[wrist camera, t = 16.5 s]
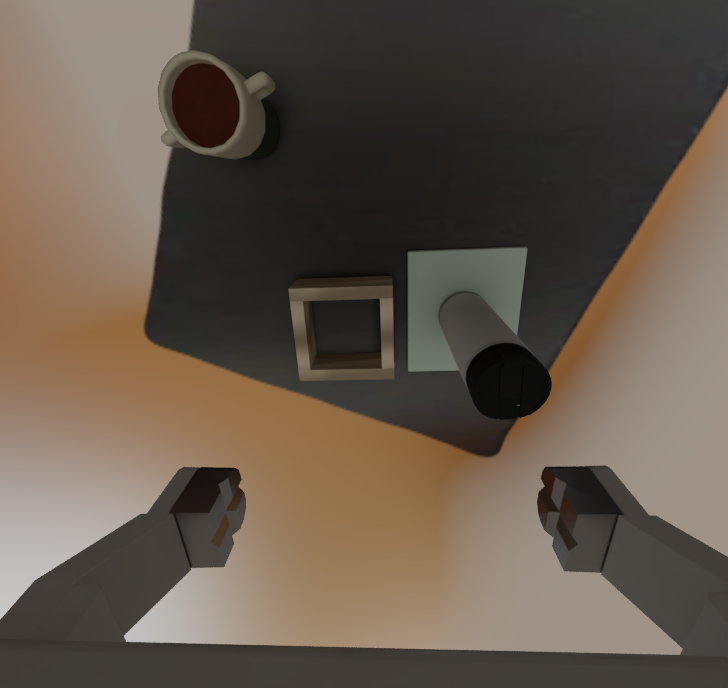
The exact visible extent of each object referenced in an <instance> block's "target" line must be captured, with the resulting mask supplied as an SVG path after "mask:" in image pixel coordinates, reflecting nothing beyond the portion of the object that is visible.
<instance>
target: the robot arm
mask: <svg viewBox="0 0 728 688" xmlns="http://www.w3.org/2000/svg"><path fill="white" fill-rule="evenodd" d="M541 480H542V482H543V484H544V485H545V487H544V488H543V489H541V491H539V493H538V500H537V505H538V514H539V517H540V521H541V523H542V526H543V528H544V530H545V531H546V532H547V533H549V534H550V535H551V536H552V537H554V540H553V545H552V546H553V549H554V551H555V553H556V555H557V557H558V559H559V561H560V563H561V565H562V567H563V570H564V571H574V572H598V573H602V575H603V576H604V577H605V578H606V579H607V580H608V581H609V582H610V583H611V584H612V585H613V586H615V587H616V588H617V589H618V590H619V591H620V592H621V593H622V594H623V595H624V596H626V597H627V598H628V599H629V600H630V601H631V602H632V603H633V604H634V605H636V606H637V607H638V608H639V609H640V610H641V611H642V612H643V613H644V614H645V615H646V616H648V617H649V618H650V619H651V620H652V621H653V622H654V623H655V624H656V625H658V626H659V627H660V628H661V629H662V630H663V631H664V632H665V633H666V634H668V636H670V637H671V638H672V639H673V640H674V641H675V642H676V643H677V644H678V645H680V646H681V647H682V648H683V649H682V652H681V654H680V655H655V654H612V653H611V654H610V653H571V652H569V653H568V652H525V651H523V652H522V651H478V650H476V651H475V650H434V649H394V648H353V647H351V648H350V647H313V646H312V647H311V646H271V645H230V644H229V645H228V644H187V643H144V642H126V640H125V638H124V635H125V634H126V633H127V632H128V631H129V630H130V629H131V628H132V627H133V626H134V625H135V624H136V623H137V622H138V621H139V620H140V619H141V618H142V617H143V616H144V615H145V614H146V613H147V612H148V611H149V610H150V609H151V608H152V607H153V606H154V605H155V604H156V603H158V602H159V601H160V599H162V598H163V597H164V596H165V595H166V594H167V593H168V592H169V591H170V590H171V589H172V588H173V587H174V586H175V585H176V584H177V583H178V582H179V581H180V580H181V579H182V578H183V577H184V576H185V575H186V574H187V573H188V572H189V571H190V570H191V568H204V567H224V566H225V564H226V561H227V559H228V557H229V554H230V552H231V549H232V547H233V545H234V542H233V538H232V535H233V534H234V533H235V532H237V531H238V530H239V529H240V528H241V525H242V523H243V520H244V515H245V509H246V499H245V494H244V492H243V491H242V490H241V489H240V488H239V487H238V486H239V484H240V481H241V476H240V472H239V470H238V469H236V468H212V467H211V468H210V467H201V468H195V467H193V468H192V467H183V468H182V469H179V470H178V471H177V473H176V474H175V475H174V477H173V478H172V480H171V481H170V482H169V484H168V485H167V486H166V488H165V489H164V491H163V492H162V493H161V495H160V496H159V498H158V499H157V500H156V502H155V503H154V504H153V506H152V507H151V509H150V510H149V511H148V513H147V514H140V515H139V516H137V517H135V518H134V519H132V520H130V521H129V522H127V523H126V524H124V525H123V526H121V527H119V528H118V529H116V530H115V531H113V532H112V533H110V534H108V535H107V536H105V537H104V538H102V539H100V540H99V541H97V542H96V543H94V544H92V545H91V546H89V547H87V548H86V549H84V550H83V551H81V552H80V553H78V554H77V555H75V556H73V557H72V558H70V559H68V560H67V561H65V562H64V563H62V564H60V565H59V566H57V567H56V568H54V569H53V570H51V571H49V572H48V573H46V574H44V575H43V576H41V577H40V578H38V579H37V580H35V581H34V582H33V583H32V584H31V586H30V587H29V588H28V589H27V590H26V591H25V592H24V593H23V595H22V596H21V597H20V598H19V599H18V600H17V602H16V603H15V604H14V605H13V606H12V607H11V608H10V610H8V612H7V613H6V614H5V615H4V616H3V617H2V618H1V620H0V688H728V557H727V556H725V555H723V554H722V553H720V552H718V551H716V550H715V549H713V548H711V547H709V546H708V545H706V544H704V543H703V542H701V541H699V540H697V539H696V538H694V537H692V536H690V535H689V534H687V533H685V532H683V531H682V530H680V529H678V528H676V527H675V526H673V525H671V524H669V523H668V522H666V521H664V520H663V519H661V518H659V517H657V516H649V515H648V514H647V512H646V511H645V510H644V509H643V507H642V506H641V505H640V504H639V502H638V501H637V500H636V499H635V498H634V496H633V495H632V494H631V493H630V491H628V489H627V488H626V487H625V485H624V484H623V483H622V482H621V481H620V479H619V478H618V477H617V476H616V474H615V473H614V472H613V471H612V470H611V469H610V468H609V467H607V466H585V467H583V466H579V467H545V468H544V470H543V471H542V476H541Z"/></svg>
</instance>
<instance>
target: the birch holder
mask: <svg viewBox="0 0 728 688" xmlns="http://www.w3.org/2000/svg"><path fill="white" fill-rule="evenodd" d="M289 297H290V305H291V313H292V321H293V329H294V337H295V345H296V353H297V361H298V369H299V377H300V381H322V380H372V379H394V335H393V284H392V276H371V277H343V278H315V279H297V280H296V281H295V282H294V283H293V284H292V286H291V287H290V288H289ZM353 299H380V319H381V352H373V353H331V354H317V352H316V342H315V332H314V322H313V313H312V303H311V301H322V300H353Z"/></svg>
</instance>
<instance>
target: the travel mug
mask: <svg viewBox="0 0 728 688" xmlns="http://www.w3.org/2000/svg"><path fill="white" fill-rule="evenodd" d="M438 318H439V323H440V326H441V328H442V331H443V333H444V335H445V338H446V340H447V343H448V345H449V347H450V350H451V352H452V354H453V357H454V359H455V361H456V364H457V366H458V368H459V371H460V373H461V376H462V378H463V380H464V383H465V385H466V387H467V390H468V391H469V393H470V395H471V397H472V400H473V402H474V404H475V406H476V408H477V409H478V410H479V411H480V412H481V413H482V414H483V415H485V416H487V417H489V418H494V419H498V418H499V419H514V418H517V417H520V418H521V417H524V416H527V415H530V414H532V413H533V412H535V411H537V410H538V409H539V408H540V407H541V406H542V405H543V404H544V403H545V401H546V400H547V398H548V396H549V394H550V391H551V383H552V382H551V377H550V375H549V373H548V371H547V370H546V369H545V367H544V366H543V365H542V364H541V363H540V362H539V361H538V360H537V359H536V357H535V356H534V354H533V353H532V352H531V351H530V350H529V349H528V348H527V346H526V345H525V344H524V343H523V342H522V341H521V340H520V339H519V338H518V337H517V335H516V334H515V333H514V332H513V331H512V330H511V329H510V328H509V327H508V326H507V324H506V323H505V322H504V321H503V320H502V319H501V318H500V317H499V316H498V315H497V313H496V312H495V311H494V310H493V309H492V308H491V307H490V306H489V305H488V304H487V302H486V301H485V300H484V299H483V298H482V297H481V296H480V295H478V294H476V293H474V292H469V291H462V292H457V293H455V294H453V295H451V296H449V297H448V298H447V299H446V300H445V301H444V302H443V304H442V305H441V307H440V310H439V315H438Z"/></svg>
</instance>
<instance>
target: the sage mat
mask: <svg viewBox="0 0 728 688" xmlns="http://www.w3.org/2000/svg"><path fill="white" fill-rule="evenodd" d="M526 256H527V247H525V246H520V247H495V248H469V249H443V250H418V251H408V371H451V370H459V368H458V366H457V364H456V361H455V359H454V357H453V354H452V352H451V350H450V347H449V345H448V343H447V340H446V338H445V335H444V333H443V331H442V328H441V326H440V323H439V318H438V315H439V310H440V307H441V305H442V304H443V302H444V301H445V300H446V299H447V298H448V297H449V296H451V295H453V294H455V293H457V292H462V291H469V292H474V293H476V294H478V295H480V296H481V297H482V298H483V299H484V300H485V301H486V302H487V304H488V305H489V306H490V307H491V308H492V309H493V310H494V311H495V312H496V313H497V315H498V316H499V317H500V318H501V319H502V320H503V321H504V322H505V323H506V324H507V326H508V327H509V328H510V329H511V330H512V331H513V332H514V333H515V334H516V335H517V330H518V322H519V314H520V305H521V297H522V289H523V280H524V272H525V264H526Z"/></svg>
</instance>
